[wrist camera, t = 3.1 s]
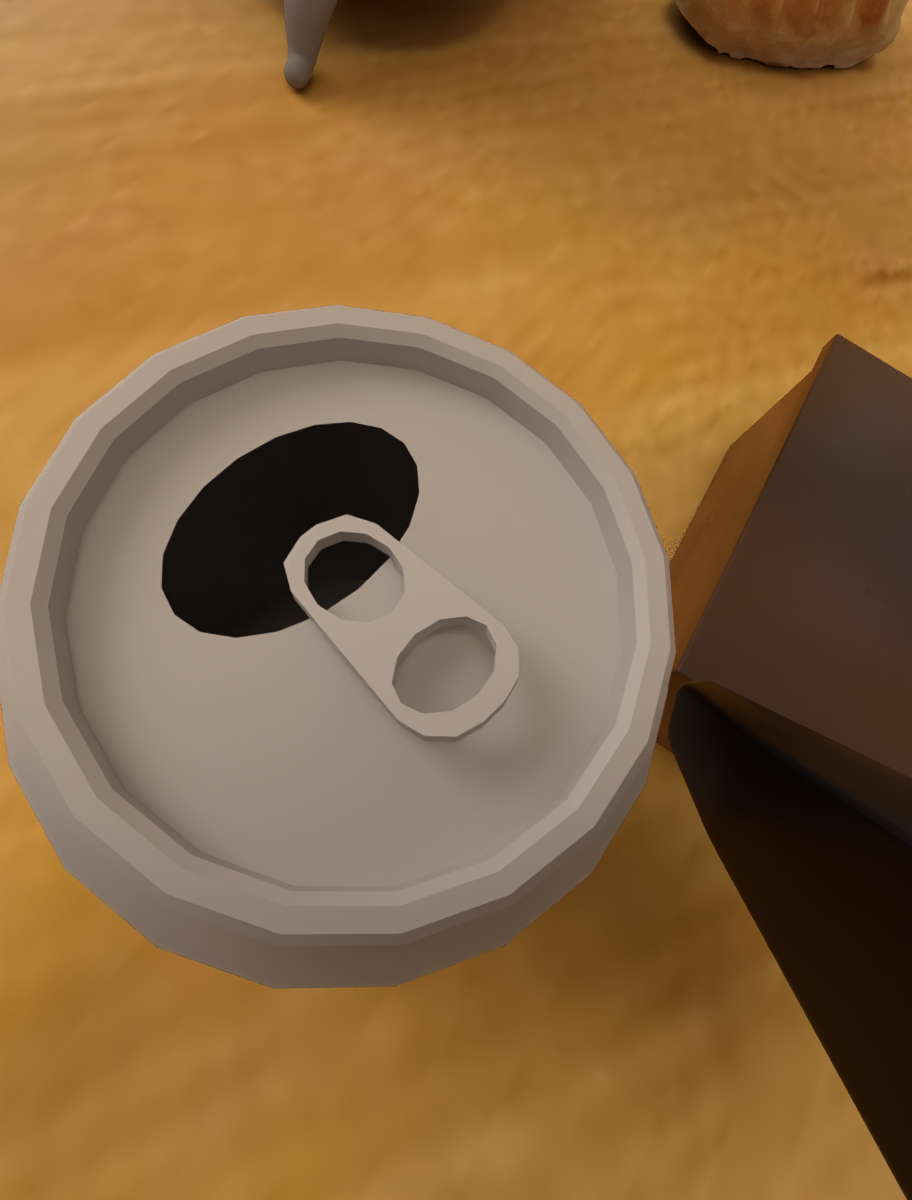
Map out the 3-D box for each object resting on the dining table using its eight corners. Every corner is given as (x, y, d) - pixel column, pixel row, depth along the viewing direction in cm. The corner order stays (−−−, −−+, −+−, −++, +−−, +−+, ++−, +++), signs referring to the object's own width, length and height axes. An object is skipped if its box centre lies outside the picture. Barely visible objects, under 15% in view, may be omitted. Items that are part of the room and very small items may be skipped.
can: (361, 535, 19) (395, 132, 8) (546, 734, 18) (890, 611, 7) (130, 716, 17) (-317, 520, 5) (332, 954, 16) (316, 1320, 4)
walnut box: (839, 895, 18) (1023, 927, 13) (576, 729, 18) (662, 700, 13) (947, 573, 22) (1122, 506, 17) (727, 437, 22) (837, 331, 17)
